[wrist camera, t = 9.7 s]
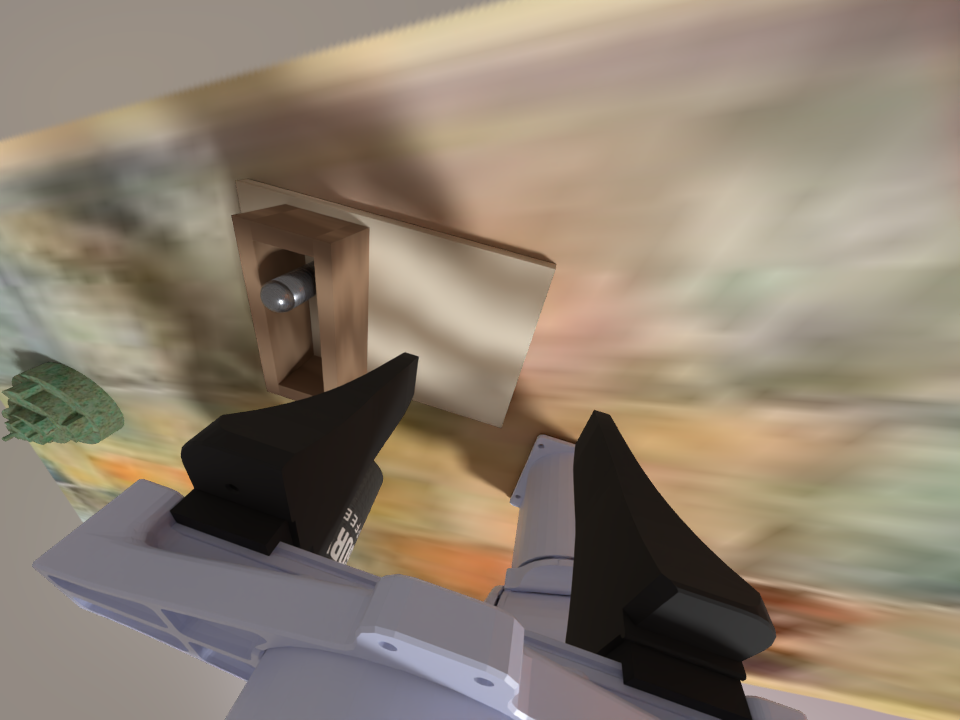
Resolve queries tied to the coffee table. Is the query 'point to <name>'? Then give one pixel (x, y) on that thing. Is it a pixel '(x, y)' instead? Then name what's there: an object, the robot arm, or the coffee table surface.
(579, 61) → the coffee table surface
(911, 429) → the coffee table surface
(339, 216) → the birch board
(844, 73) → the coffee table surface
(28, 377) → the decorative artifact
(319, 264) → the walnut link
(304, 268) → the peg
